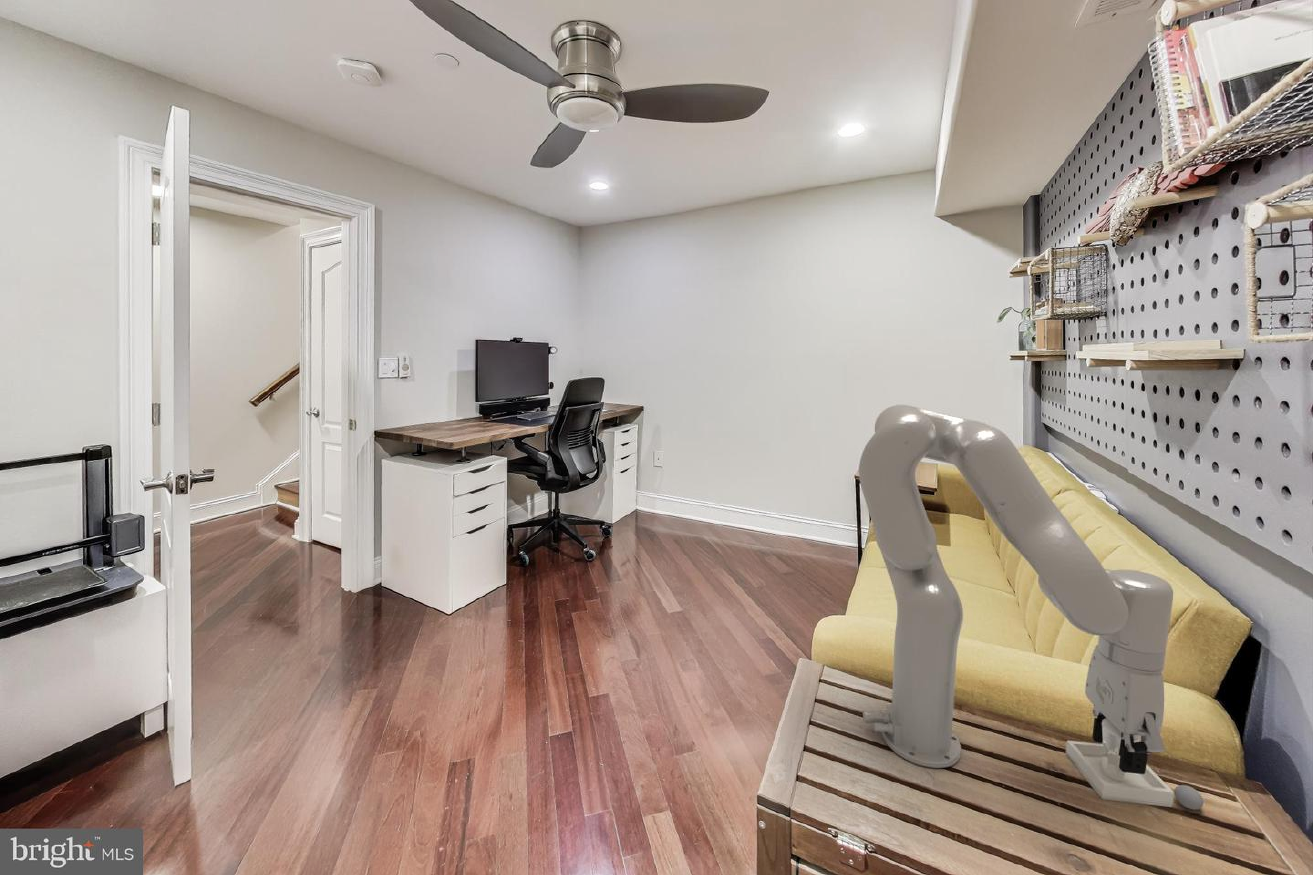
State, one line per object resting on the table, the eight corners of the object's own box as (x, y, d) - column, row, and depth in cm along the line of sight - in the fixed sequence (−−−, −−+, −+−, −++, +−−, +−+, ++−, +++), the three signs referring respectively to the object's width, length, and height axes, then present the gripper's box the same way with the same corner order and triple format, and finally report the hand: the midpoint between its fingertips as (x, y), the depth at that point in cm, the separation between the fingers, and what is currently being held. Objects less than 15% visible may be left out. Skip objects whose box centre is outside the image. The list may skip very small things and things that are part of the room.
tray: (1102, 799, 77) (1103, 784, 77) (1065, 753, 86) (1066, 740, 86) (1172, 807, 76) (1174, 792, 75) (1127, 759, 85) (1129, 746, 84)
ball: (1184, 813, 75) (1186, 795, 74) (1167, 796, 78) (1170, 778, 77) (1208, 815, 74) (1210, 797, 74) (1190, 798, 77) (1193, 781, 77)
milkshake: (1095, 777, 80) (1101, 721, 79) (1097, 758, 84) (1104, 704, 83) (1134, 794, 77) (1141, 735, 76) (1135, 773, 81) (1142, 717, 80)
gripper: (1068, 621, 87) (1058, 716, 89) (1144, 683, 70) (1129, 798, 73) (1118, 624, 85) (1107, 721, 88) (1208, 688, 69) (1190, 805, 71)
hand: (1117, 755), depth 80 cm, fingers open, 5 cm apart
